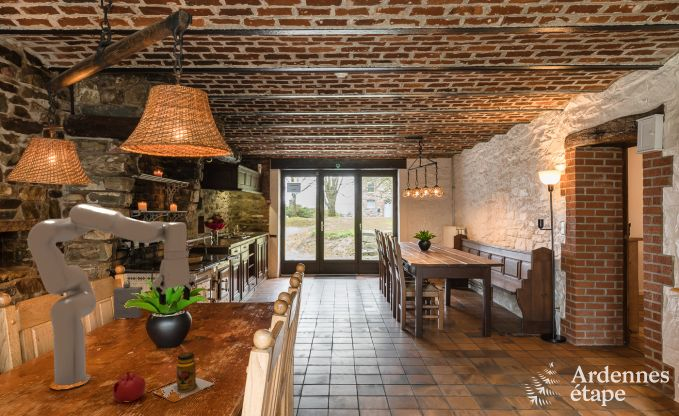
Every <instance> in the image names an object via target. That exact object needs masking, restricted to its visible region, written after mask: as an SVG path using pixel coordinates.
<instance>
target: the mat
mask: <svg viewBox="0 0 679 416" xmlns="http://www.w3.org/2000/svg"><path fill="white" fill-rule="evenodd" d="M196 384H197V385H198V387H199V388H200V390H201V389H204V388H206V387H209V386H211V385H213V384H214V385H215V383H214V382H211V381H207V380H205V379H202V378H199V377H196ZM175 385H177V382H175V383H172V384H170V385H167V386H165V387H162V388H160V389H161V391H162V390H164V392H165V393H163V391H162V393H163V394H164V395H163V396H164V397H166V398H167V397H169V396H170V392H171V393H172V391H171V390H173V392H176V391H175V389H174V387H173V386H175ZM209 388H210V387H209ZM197 391H199V390H196V391H193V392H189V393H185V394H187V395H185V394H181V395H180V396H181V397H180V396H179V398H183V397H185V396H188V395H190V394H192V393H195V392H197ZM153 392H154V393H155V394H156V391H153ZM168 395H169V396H168Z"/></svg>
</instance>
